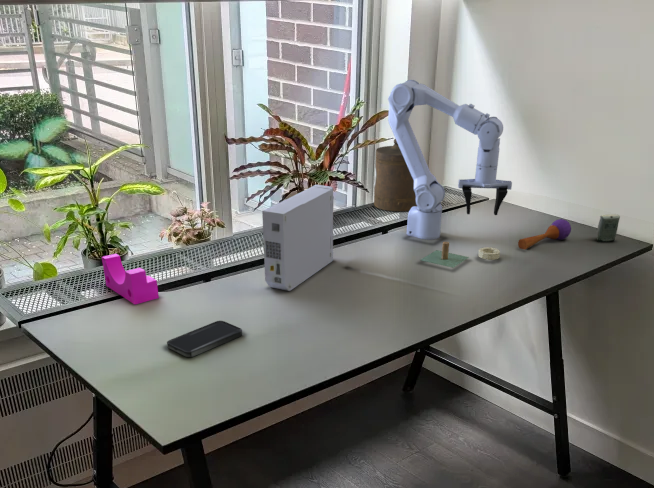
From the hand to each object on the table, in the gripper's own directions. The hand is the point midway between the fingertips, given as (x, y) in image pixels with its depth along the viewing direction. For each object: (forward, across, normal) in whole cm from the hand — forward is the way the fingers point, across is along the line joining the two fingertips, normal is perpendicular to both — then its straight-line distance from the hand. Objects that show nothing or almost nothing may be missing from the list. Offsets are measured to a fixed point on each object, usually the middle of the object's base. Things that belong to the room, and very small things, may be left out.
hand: (481, 213), depth 207 cm
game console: (+10, -48, -28) cm, 56 cm away
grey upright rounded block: (+10, +38, +8) cm, 40 cm away
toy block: (+10, -88, -43) cm, 98 cm away
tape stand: (+9, -11, -15) cm, 20 cm away
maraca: (+10, +20, +4) cm, 22 cm away
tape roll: (+9, +2, -11) cm, 15 cm away
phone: (+9, -65, -68) cm, 94 cm away
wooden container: (+10, -24, +39) cm, 47 cm away
